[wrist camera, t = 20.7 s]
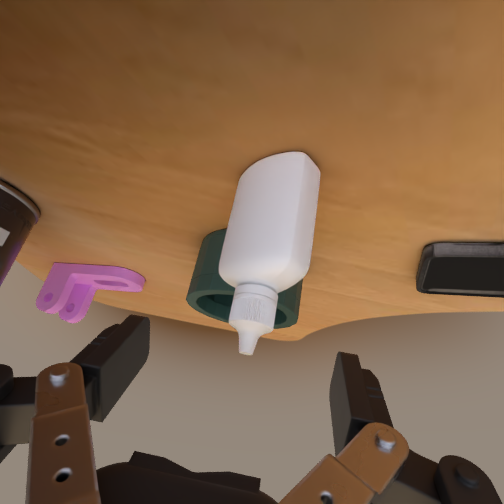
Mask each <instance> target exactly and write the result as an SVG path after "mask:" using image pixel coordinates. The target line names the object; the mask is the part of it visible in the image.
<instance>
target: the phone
mask: <svg viewBox="0 0 504 504" xmlns="http://www.w3.org/2000/svg"><path fill="white" fill-rule="evenodd" d="M416 288H417V291H419V292H421V293H427V294H444V295H463V296H483V297H502V298H504V243H435V244H431V245H428V246H426V247H425V248H424V249H423V253H422V256H421V260H420V264H419V268H418V272H417V276H416Z"/></svg>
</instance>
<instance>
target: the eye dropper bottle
mask: <svg viewBox="0 0 504 504" xmlns="http://www.w3.org/2000/svg"><path fill="white" fill-rule="evenodd" d="M319 184H320V171H319V168H318V167H317V166H316V165H315V163H314V162H313V161H312V160H311V159H310V157H309V156H308V155H306V154H305V153H303V152H299V151H298V152H285V153H280V154H275V155H272V156H269V157H266V158H263V159H261V160H259V161H258V162H256V163H254V164H253V165H251V166H250V167H249V168H248V169H247V170H246V171H245V172H244V173H243V174H242V176H241V177H240V179H239V183H238V187H237V191H236V195H235V199H234V203H233V207H232V211H231V215H230V219H229V223H228V227H227V231H226V236H225V240H224V244H223V248H222V253H221V257H220V262H219V274H220V276H221V278H222V279H223V280H224V281H225V282H227V283H228V284H229V285H231V286H233V287H235V293H234V297H233V302H232V307H231V311H230V316H229V321H228V322H229V324H230V325H231V326H232V327H234V328H235V329H236V330H237V331H238V333H239V352H240V353H242V354H245V355H252V354H253V351H254V348H255V346H256V343H257V341H258V338H259V337H260V336H261V335H263V334H267V333H270V332H271V331H273V327H274V321H275V314H276V308H277V301H278V295H277V294H278V293H279V292H282V291H284V290H286V289H288V288H289V287H291V286H293V285H294V284H296V283H297V282H299V281H300V280H301V279H302V278H303V277H304V276H305V275H306V273H307V272H308V269H309V266H310V259H311V252H312V245H313V236H314V228H315V220H316V211H317V202H318V193H319Z"/></svg>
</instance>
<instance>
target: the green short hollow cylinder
mask: <svg viewBox="0 0 504 504" xmlns="http://www.w3.org/2000/svg"><path fill="white" fill-rule="evenodd" d="M226 231H227V229H223V230H218V231H215V232H212V233H211V234H209V235H207V236H206V237H205V238H204V240H203V242H202V245H201V248H200V251H199V254H198V258H197V262H196V265H195V269H194V272H193V276H192V279H191V283H190V286H189V290H188V294H187V297H186V301H187V302H188V304H189V305H190V306H191V307H192V308H194V309H195V310H196V311H198V312H200V313H202V314H204V315H207V316H209V317H211V318H214V319H217V320H220V321H223V322H227V323H229V322H228V321H229V316H230V311H231V307H232V302H233V297H234V293H235V287H233V286H231V285H229V284H228V283H227V282H225V281H224V280H223V279H222V278H221V276H220V274H219V262H220V257H221V253H222V248H223V244H224V240H225V236H226ZM302 281H303V278H302V279H301V280H300V281H299V282H297V283H296V284H294V285H293V286H291V287H289V288H288V289H286V290H284V291H282V292H279V293H278V294H277V295H278V301H277V308H276V314H275V321H274V327H273V329H278V328H285V327H290V326H292V325H294V324H296V323H297V320H298V314H299V306H300V298H301V289H302Z"/></svg>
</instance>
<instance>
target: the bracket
mask: <svg viewBox="0 0 504 504" xmlns="http://www.w3.org/2000/svg"><path fill="white" fill-rule="evenodd" d="M144 283H145V278H144V277H143V276H141V275H140V274H138V273H136V272H134V271H131V270H129V269H125V268H121V267H116V266H100V265H84V264H68V263H54V264H53V266H52V268H51V270H50V272H49V275H48V277H47V279H46V281H45V283H44V285H43V287H42V289H41V291H40V293H39V295H38V297H37V300H36V306H37V308H38V309H39V310H41V311H44V312H46V313H48V314H54V313H57V312H59V316H60V318H61V319H62V320H65V321H67V322H69V323H77V322H79V321H80V320H82V319H83V318H84V316H85V315H86V313H87V311H88V308H89V306H90V304H91V301H92V299H93V296H94V294H95V292H96V290H98V289H106V290H117V291H128V292H140V291H142V289H143V286H144Z"/></svg>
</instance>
